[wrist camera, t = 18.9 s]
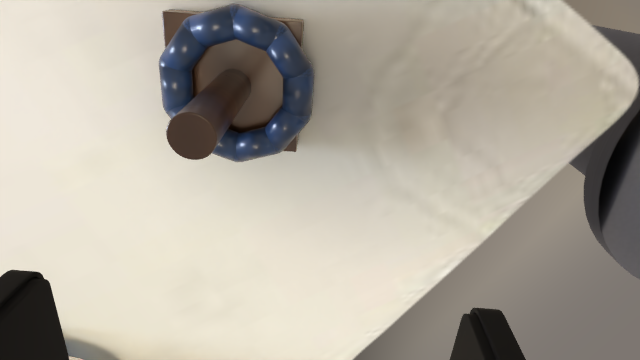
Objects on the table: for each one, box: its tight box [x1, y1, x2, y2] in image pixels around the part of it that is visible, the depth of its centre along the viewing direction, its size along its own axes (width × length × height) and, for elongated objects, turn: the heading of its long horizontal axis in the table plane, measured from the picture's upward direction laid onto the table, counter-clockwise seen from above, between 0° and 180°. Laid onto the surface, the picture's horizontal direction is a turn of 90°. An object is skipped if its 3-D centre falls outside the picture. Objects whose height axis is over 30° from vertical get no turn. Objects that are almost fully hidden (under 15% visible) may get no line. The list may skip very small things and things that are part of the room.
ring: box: [159, 4, 314, 162], centre depth 28 cm, size 10×10×2 cm
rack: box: [162, 10, 304, 160], centre depth 25 cm, size 9×9×12 cm
